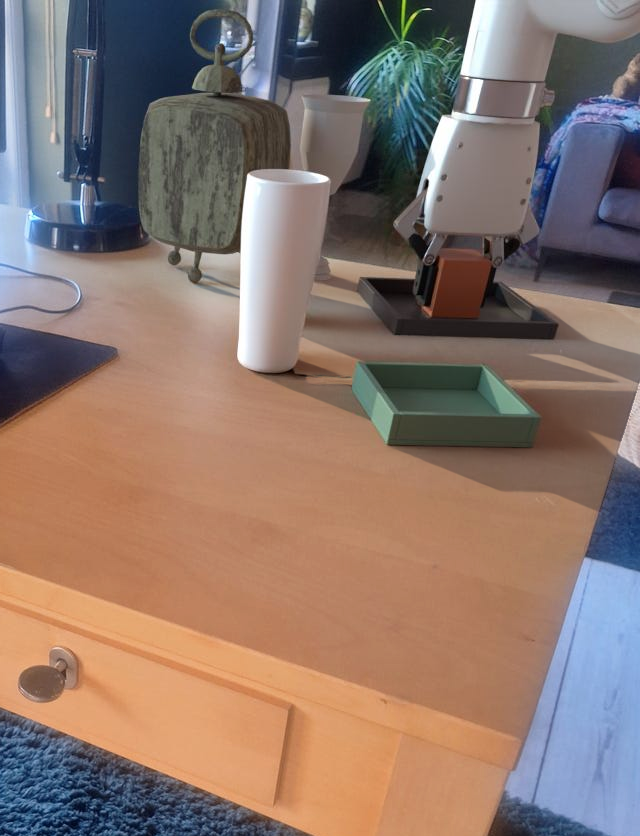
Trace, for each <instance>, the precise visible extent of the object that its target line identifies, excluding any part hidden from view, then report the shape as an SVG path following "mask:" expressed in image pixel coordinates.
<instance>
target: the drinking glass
mask: <svg viewBox="0 0 640 836" xmlns="http://www.w3.org/2000/svg"><path fill="white" fill-rule="evenodd" d="M330 186H331V180H330V178H328V177H327V176H324V175H321V174H317V173H312V172H306V171H304V170H298V169H289V170H286V169H262V170H255V171H251V172H249V173H248V174H247V180H246V187H245V194H244V202H243V212H242V225H241V254H240V258H239V259H240V261H239V262H240V263H239V267H240V268H239V274H240V275H239V279H240V280H239V317H238V318H239V322H238V343H237V352H236V353H237V354H236V355H237V361H238V362H239V364H240V365H241V366H242V367H244V368H246V369H248V370H251V371H252V372H253V371H254V372H258V373H265V374H281V373H285V372H289V371H291V370H292V369H293V368H295V366H296V365H297V364H298V360H299V354H300V348H301V347H300V346H301V340H302V337H303V332H304V328H305V322H306V318H307V313H308V309H309V304H310V300H311V296H312V292H313V291H312V290H313V287H314V282H315V280H314V278H315V274H316V270H317V265H318V261H319V257H320V255H321V254H320V252H321V253H322V247H323V243H324V238H325V235H324V233H325V234H326V226H327V219H328V212H329V205H330V197H331V195H330Z"/></svg>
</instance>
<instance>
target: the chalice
mask: <svg viewBox="0 0 640 836" xmlns="http://www.w3.org/2000/svg"><path fill="white" fill-rule="evenodd" d="M301 100H302V103H303V106H304V113H303V119H302V120H303V121H302V128H301V129H302V130H301V139H300V144H299V145H300V146H299V151H300V157H301V163H302V168H303V171H306V172H312V173H317V174H321V175H324V176H327V177H328V178H330V180H331V186H330V196H332V195H335V194H336V193H337V191H338V189H340V187H341V185H342V183H343V182H344V180H345V178H346V177H347V175H348V173H349V171H350V169H351V167H352V165H353V163H354V161H355V159H356V157H357V154H358V152H359V145H360V139H361V133H362V132H361V131H362V125H363V120H364V113H365V111H366V109H367V107H368V105H370V103H371V99H369V98H365V97H358V96H351V95H340V94H339V95H338V94H322V93H321V94H319V93H317V94H302V95H301ZM325 235H326V232H325V233H324V236H325ZM329 265H330V262H329V260H328V259H327V258H326V257H325V256H323V255H322V251H321V252H320V257H319V261H318V265H317V270H316V274H315V278H314V281H325V280H326V281H327V280H329V279H331V278H332V275H331V268H330V266H329Z"/></svg>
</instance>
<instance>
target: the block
mask: <svg viewBox="0 0 640 836" xmlns="http://www.w3.org/2000/svg"><path fill="white" fill-rule="evenodd" d="M435 265H436V266H437V267H438V272H437V276H436V281H435V285H434V290H433V294H432V299H431V303H430V305H429V306H422V305H421V304H420V303H419V302H418V301H417V303H418V304H419V305H420V306H421V307H422V308H423V309H424V310H425V311H426V312H427V313H428V314H429V315H430V316H431V317H446V318H478V315H479V311H480V307H481V304H482V300H483V296H484V292H485V288H486V284H487V280H488V276H489V273H490V269H491V265H492V261H491V260H489V259H488V258H486V257H485V256H483V255H482V253H481V252H479V251H478V250H477V249H469V248H468V249H467V248H444V247H443V248H441V250H440V252H439V254H438V256H437V258H436V263H435Z"/></svg>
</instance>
